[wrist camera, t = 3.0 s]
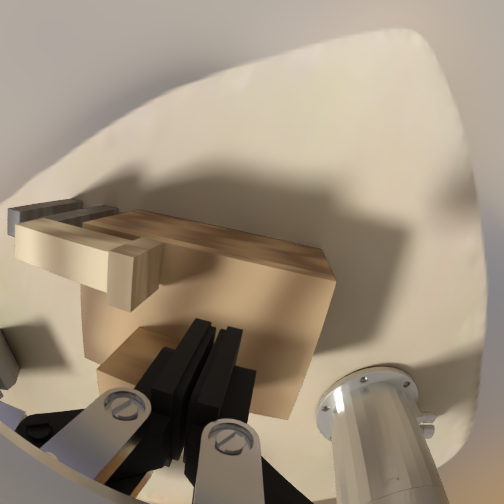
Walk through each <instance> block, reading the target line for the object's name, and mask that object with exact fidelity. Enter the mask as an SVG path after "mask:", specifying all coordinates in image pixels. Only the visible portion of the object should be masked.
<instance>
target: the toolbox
mask: <svg viewBox="0 0 504 504" xmlns="http://www.w3.org/2000/svg"><path fill="white" fill-rule="evenodd" d="M40 218H46V219H50V220H53V221H57V222H61V223H65V224H69V225H73V226H76V227H80V228H82V225H83V222H87V221H91V220H92V221H97V222H101V223H105V224H109V225H114V226H118V227H122V228H127V229H131V230H135V231H139V232H144V233H148V234H152V235H157V236H161V237H165V238H170V239H174V240H178V241H182V242H187V243H191V244H196V245H200V246H204V247H209V248H213V249H217V250H222V251H226V252H230V253H235V254H239V255H244V256H248V257H252V258H257V259H261V260H266V261H270V262H274V263H279V264H283V265H288V266H292V267H296V268H301V269H305V270H310V271H314V272H319V273H323V274H328V275H332V276H334V275H333V273H332V270H331V268H330V266H329V264H328V262H327V259H326V257H325V255H324V253H323V251H322V250H321V249H317V248H313V247H308V246H304V245H299V244H295V243H291V242H286V241H282V240H277V239H273V238H269V237H264V236H260V235H255V234H251V233H246V232H241V231H237V230H232V229H228V228H223V227H218V226H214V225H209V224H205V223H200V222H195V221H190V220H186V219H181V218H176V217H171V216H167V215H162V214H157V213H152V212H147V211H142V210H136V211H131V212H126V213H122V214H118V208H113V207H108V206H97V207H91V208H86V209H82V201H78V200H73V199H65V200H58V201H51V202H45V203H38V204H32V205H26V206H20V207H14V208H8V235H10V236H13V237H15V224H18V223H22V222H27V221H31V220H36V219H40Z"/></svg>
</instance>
